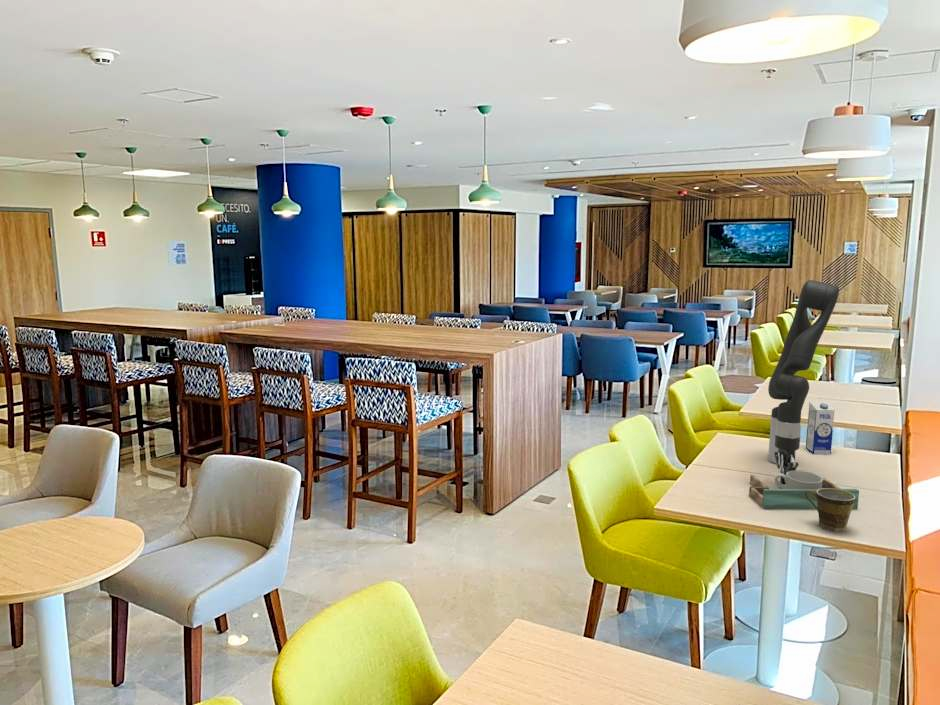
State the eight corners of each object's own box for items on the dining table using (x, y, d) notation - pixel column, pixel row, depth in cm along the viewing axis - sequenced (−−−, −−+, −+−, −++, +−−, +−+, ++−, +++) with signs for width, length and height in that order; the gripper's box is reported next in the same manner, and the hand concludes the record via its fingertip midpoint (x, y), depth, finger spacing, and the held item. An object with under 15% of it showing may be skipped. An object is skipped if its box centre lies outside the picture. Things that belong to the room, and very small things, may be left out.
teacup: (822, 497, 222) (824, 473, 221) (819, 507, 213) (821, 483, 212) (776, 489, 229) (778, 466, 228) (771, 499, 220) (772, 475, 219)
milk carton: (822, 449, 274) (827, 401, 271) (831, 454, 267) (835, 405, 264) (804, 449, 274) (808, 400, 271) (812, 454, 267) (816, 404, 264)
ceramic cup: (856, 526, 199) (859, 493, 197) (847, 537, 191) (850, 503, 190) (808, 514, 207) (810, 483, 206) (798, 524, 200) (800, 492, 198)
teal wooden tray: (735, 483, 234) (736, 466, 233) (819, 483, 234) (821, 467, 234) (764, 509, 212) (765, 490, 211) (857, 509, 212) (859, 490, 211)
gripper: (767, 428, 233) (764, 477, 236) (785, 439, 220) (781, 491, 223) (789, 428, 233) (786, 477, 236) (808, 439, 220) (804, 490, 223)
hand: (784, 483), depth 230 cm, fingers closed
